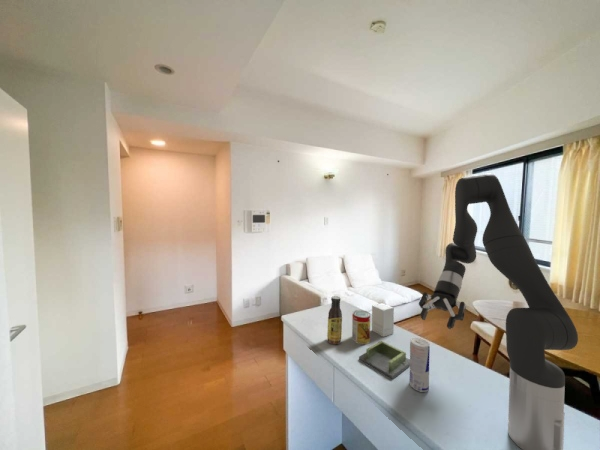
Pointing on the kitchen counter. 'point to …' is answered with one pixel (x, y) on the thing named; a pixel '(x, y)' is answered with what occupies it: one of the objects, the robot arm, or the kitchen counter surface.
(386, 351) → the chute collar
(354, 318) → the canned food
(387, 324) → the supplement box
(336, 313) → the sauce bottle
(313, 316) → the kitchen counter surface
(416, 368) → the beverage can
